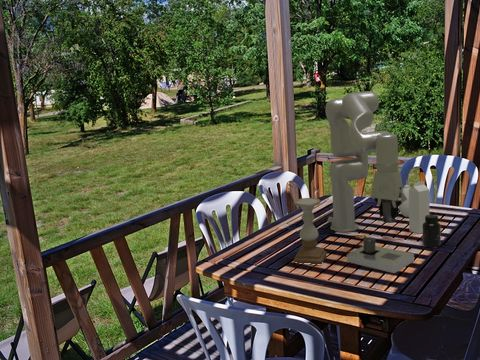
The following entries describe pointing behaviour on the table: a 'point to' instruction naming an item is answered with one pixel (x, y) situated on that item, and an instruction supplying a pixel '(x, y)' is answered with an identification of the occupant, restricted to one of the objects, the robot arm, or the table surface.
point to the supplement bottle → (431, 231)
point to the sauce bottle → (405, 202)
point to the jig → (380, 257)
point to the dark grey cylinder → (387, 211)
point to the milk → (418, 207)
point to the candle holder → (309, 234)
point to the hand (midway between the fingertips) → (388, 216)
